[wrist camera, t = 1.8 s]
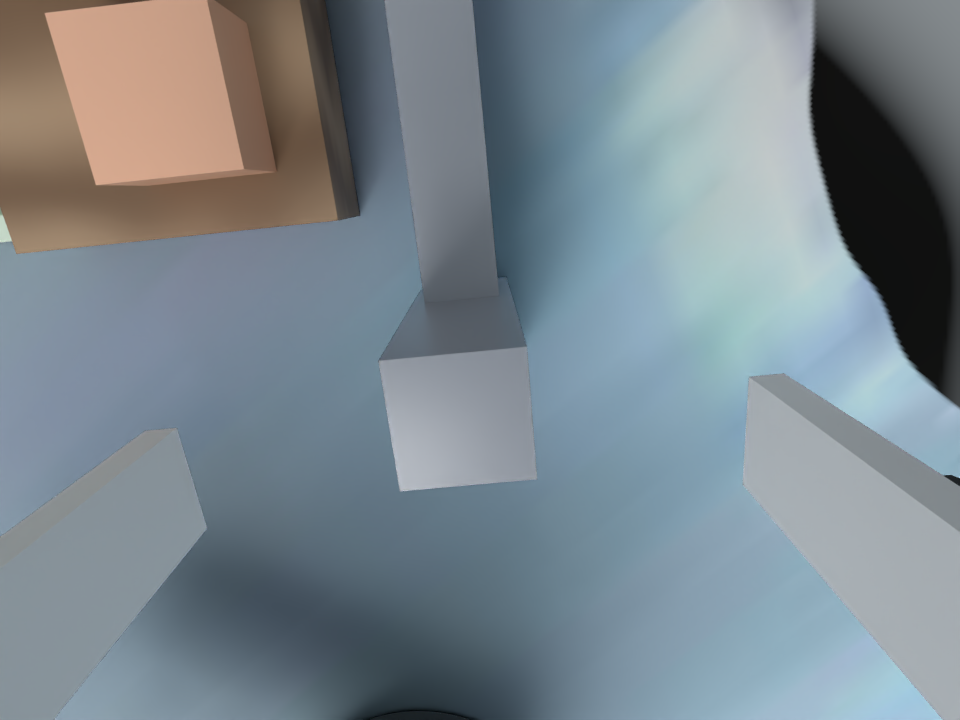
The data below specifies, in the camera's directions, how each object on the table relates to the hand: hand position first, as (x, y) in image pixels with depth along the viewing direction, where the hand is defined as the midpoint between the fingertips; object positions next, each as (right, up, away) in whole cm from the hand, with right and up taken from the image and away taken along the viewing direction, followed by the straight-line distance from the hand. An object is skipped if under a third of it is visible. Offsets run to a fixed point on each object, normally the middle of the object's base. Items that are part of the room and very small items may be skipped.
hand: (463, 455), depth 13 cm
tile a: (-10, +12, +7) cm, 17 cm away
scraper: (-1, +14, +11) cm, 17 cm away
